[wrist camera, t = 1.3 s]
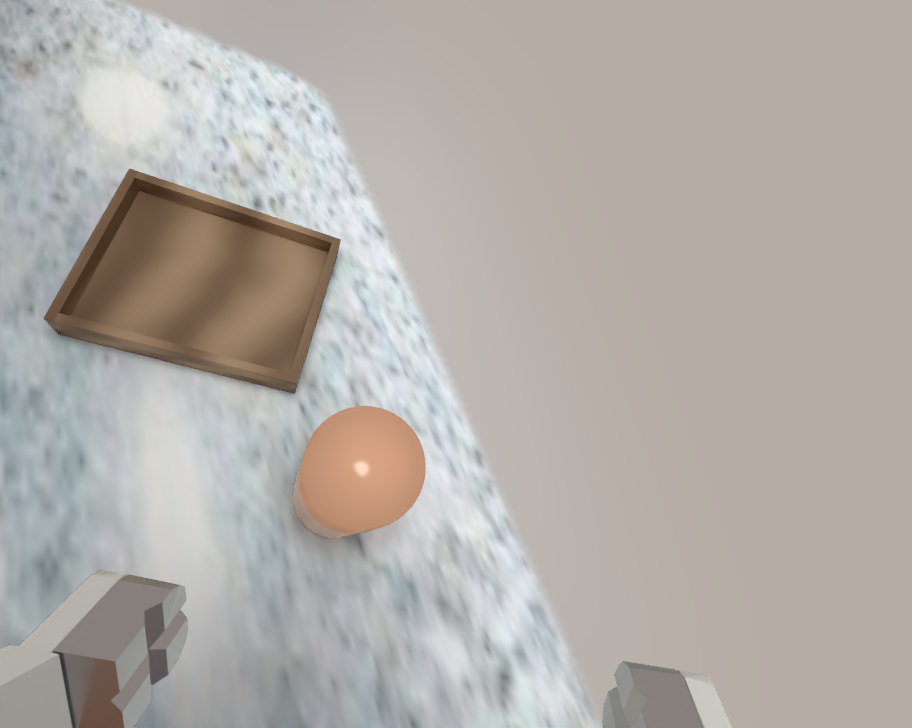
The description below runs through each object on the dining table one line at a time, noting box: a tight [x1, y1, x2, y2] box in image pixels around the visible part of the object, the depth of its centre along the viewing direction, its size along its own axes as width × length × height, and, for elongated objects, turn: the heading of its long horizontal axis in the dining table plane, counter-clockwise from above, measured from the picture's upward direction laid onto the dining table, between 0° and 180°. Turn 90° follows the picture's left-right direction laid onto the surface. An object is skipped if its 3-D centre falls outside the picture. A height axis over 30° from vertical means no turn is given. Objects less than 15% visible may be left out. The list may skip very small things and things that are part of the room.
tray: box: [44, 169, 341, 393], centre depth 37 cm, size 16×13×2 cm
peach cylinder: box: [292, 406, 425, 538], centre depth 31 cm, size 6×6×12 cm
